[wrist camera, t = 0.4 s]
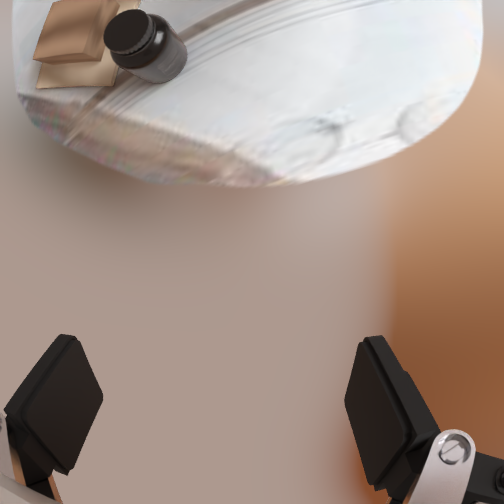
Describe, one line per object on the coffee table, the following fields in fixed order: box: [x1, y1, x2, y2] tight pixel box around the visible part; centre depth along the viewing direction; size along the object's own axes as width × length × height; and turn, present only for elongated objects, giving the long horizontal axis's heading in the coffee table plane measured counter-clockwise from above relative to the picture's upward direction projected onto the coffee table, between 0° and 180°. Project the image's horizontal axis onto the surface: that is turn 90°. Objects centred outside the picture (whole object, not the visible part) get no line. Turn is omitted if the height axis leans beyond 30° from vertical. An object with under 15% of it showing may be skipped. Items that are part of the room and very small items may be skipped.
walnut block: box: [33, 0, 120, 65], centre depth 24 cm, size 9×9×5 cm
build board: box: [36, 0, 141, 89], centre depth 26 cm, size 16×14×1 cm
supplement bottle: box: [103, 9, 187, 83], centre depth 24 cm, size 7×7×12 cm
